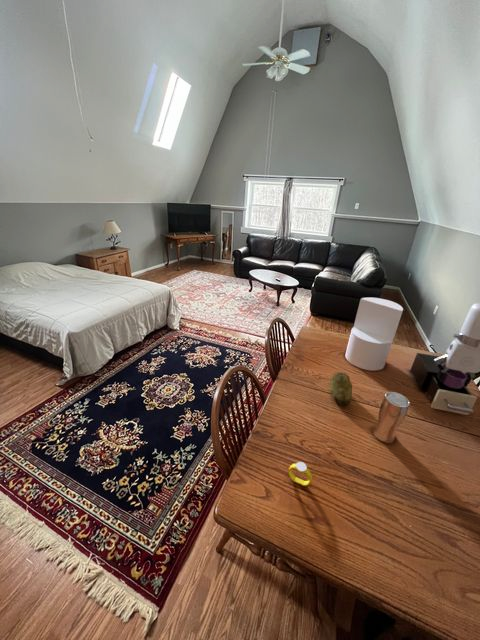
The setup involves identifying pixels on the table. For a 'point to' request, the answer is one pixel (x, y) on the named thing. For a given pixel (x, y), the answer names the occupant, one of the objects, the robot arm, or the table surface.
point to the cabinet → (424, 369)
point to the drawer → (449, 396)
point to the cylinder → (373, 333)
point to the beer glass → (391, 416)
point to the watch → (300, 468)
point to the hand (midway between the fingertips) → (451, 381)
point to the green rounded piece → (341, 388)
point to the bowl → (455, 379)
